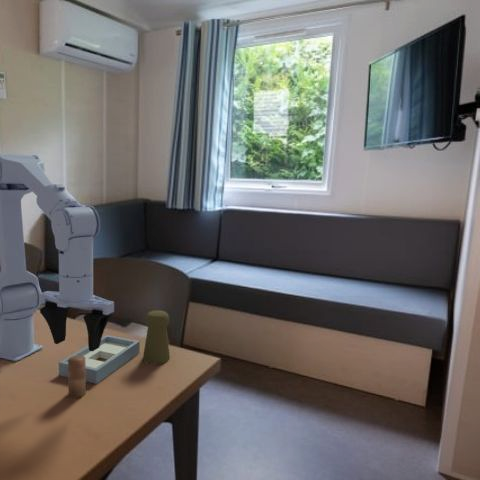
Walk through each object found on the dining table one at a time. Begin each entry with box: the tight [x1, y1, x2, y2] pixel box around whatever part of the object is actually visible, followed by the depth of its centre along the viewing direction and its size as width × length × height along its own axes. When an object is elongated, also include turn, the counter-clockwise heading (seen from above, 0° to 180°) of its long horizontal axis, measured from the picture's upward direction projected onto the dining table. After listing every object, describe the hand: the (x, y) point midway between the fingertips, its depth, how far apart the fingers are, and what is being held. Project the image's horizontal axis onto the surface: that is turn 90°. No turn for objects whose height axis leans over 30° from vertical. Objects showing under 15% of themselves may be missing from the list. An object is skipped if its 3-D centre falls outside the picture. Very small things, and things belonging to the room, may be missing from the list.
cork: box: [142, 309, 171, 365], centre depth 94 cm, size 6×6×11 cm
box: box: [58, 334, 141, 385], centre depth 91 cm, size 9×16×3 cm, turn 162°
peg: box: [67, 355, 87, 399], centre depth 78 cm, size 3×3×7 cm
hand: (76, 345), depth 77 cm, fingers open, 7 cm apart
